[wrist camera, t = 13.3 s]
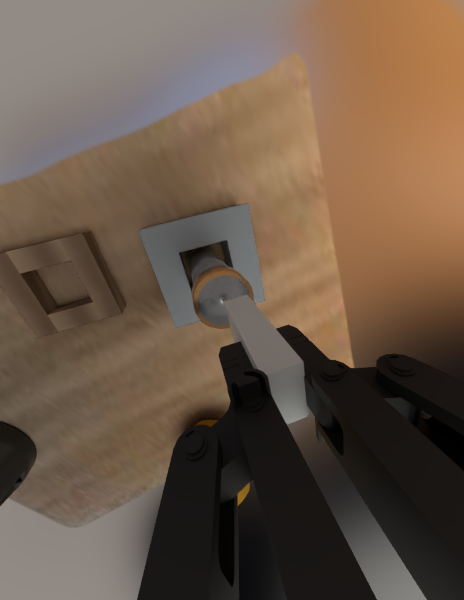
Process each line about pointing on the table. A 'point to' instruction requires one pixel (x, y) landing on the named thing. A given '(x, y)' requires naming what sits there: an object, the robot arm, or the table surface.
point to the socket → (193, 234)
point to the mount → (36, 298)
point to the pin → (214, 287)
